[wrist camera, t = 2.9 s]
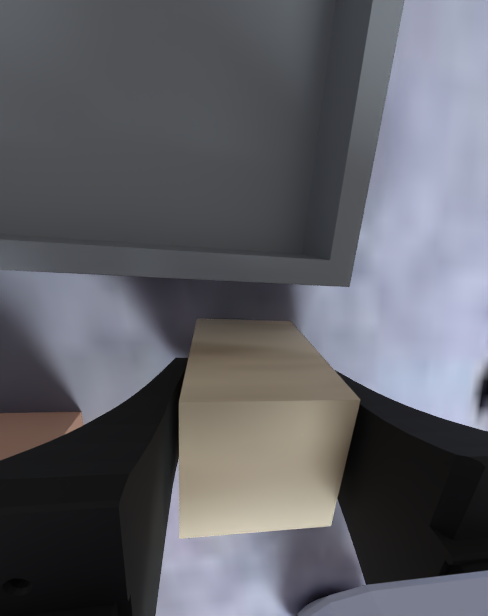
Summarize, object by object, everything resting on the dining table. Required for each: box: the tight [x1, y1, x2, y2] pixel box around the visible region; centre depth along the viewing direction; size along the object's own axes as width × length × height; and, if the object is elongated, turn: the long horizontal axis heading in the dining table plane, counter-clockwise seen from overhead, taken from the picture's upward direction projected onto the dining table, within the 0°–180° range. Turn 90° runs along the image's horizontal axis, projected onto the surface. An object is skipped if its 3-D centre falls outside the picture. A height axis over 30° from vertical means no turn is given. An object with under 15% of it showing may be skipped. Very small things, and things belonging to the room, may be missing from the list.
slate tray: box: [0, 0, 404, 287], centre depth 7 cm, size 13×20×4 cm, turn 86°
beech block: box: [179, 318, 360, 539], centre depth 9 cm, size 4×4×6 cm
